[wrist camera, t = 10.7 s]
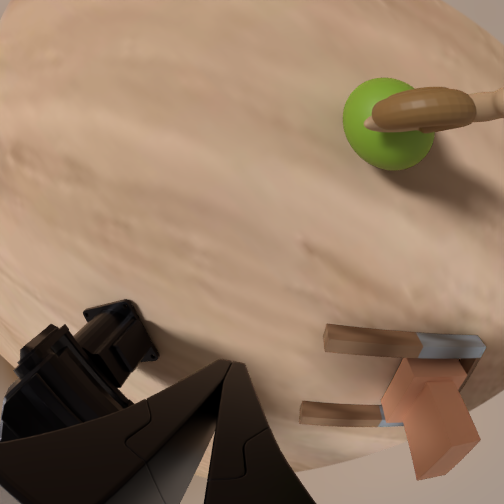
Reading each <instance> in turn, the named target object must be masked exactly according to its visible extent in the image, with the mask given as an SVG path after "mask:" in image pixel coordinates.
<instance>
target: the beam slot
mask: <svg viewBox="0 0 504 504" xmlns="http://www.w3.org/2000/svg"><path fill="white" fill-rule="evenodd" d="M323 339H324V349H325V352H332V353H342V354H353V355H365V356H380V357H399V358H433V359H455V358H461V360H460V364H461V365H462V367H463V369H464V370H465V372H466V374H467V377H466V379H465V380H464V382H463V383H462V385H461V386H460V388H459V390H458V391H459V392H460V391H461V389H462V388H463V386H464V385H465V383H466V382H467V380H468V378H469V377H470V375H471V374H472V372H473V370H474V368H475V367H476V365H477V363H478V362H479V360H480V358H481V356H482V354H483V353H484V351H485V349H486V346H485V345H484V343H483V342H482V341H481V339H480V338H479V337H478V336H477V335H453V334H433V333H417V332H403V331H391V330H379V329H369V328H359V327H350V326H341V325H332V324H327V325H326V328H325V332H324V335H323ZM299 424H308V425H321V426H340V427H392V426H404V424H403V422H401V423H386V420H385V416H384V411H383V407H382V405H348V404H331V403H318V402H307V401H302V404H301V407H300V416H299Z"/></svg>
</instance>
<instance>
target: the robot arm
mask: <svg viewBox="0 0 504 504" xmlns="http://www.w3.org/2000/svg"><path fill="white" fill-rule="evenodd" d="M125 304H126V305H127V306H126V305H125ZM83 315H84V317H85V319H86V320H87V322H88V323H87V324H86V325H85V326H84V327H83V328H82V329H81V330H79V331H78V332H77V333H76V334H75V335H74V336H73V335H72V334H71V333H70V331H69V328H68V327H67V326H66V324H64V325H63V326H62V327H61V328H58V327H56V326H54V325H53V324H50V325H49V326H48V327H47V328H46V329H44V330H43V331H42V332H41V333H40V334H38V335H37V336H36V337H35V338H33V339H32V340H31V341H30V342H29V343H27V344H26V345H25V346H24V347H23V348H22V349H21V350H20V360H19V361H18V362H17V363H18V364H19V365H18V366H17V367H16V368H15V369H14V370H13V371H14V372H15V373H16V375H17V376H18V377H19V378H18V379H17V380H16V381H15V382H14V383H13V384H12V385H11V386H10V387H9V388H8V391H7V392H6V395H5V397H4V401H3V407H2V414H1V422H0V504H180V502H181V500H182V498H183V496H184V494H185V492H186V490H187V488H188V486H189V484H190V482H191V480H192V478H193V476H194V474H195V472H196V470H197V468H198V466H199V463H200V461H201V459H202V457H203V455H204V453H205V451H206V449H207V447H208V444H209V442H210V440H211V438H212V436H213V434H214V432H215V434H214V441H213V447H212V453H211V460H210V466H209V473H208V479H207V486H206V492H205V499H204V504H316V503H315V501H314V500H313V498H312V497H311V496H310V494H309V493H308V491H307V490H306V489H305V487H304V486H303V484H302V483H301V481H300V480H299V478H298V477H297V476H296V474H295V473H294V471H293V470H292V468H291V467H290V465H289V464H288V462H287V460H286V459H285V457H284V455H283V454H282V452H281V450H280V448H279V446H278V444H277V442H276V440H275V438H274V435H273V433H272V431H271V429H270V427H269V424H268V422H267V419H266V417H265V414H264V412H263V409H262V407H261V404H260V402H259V399H258V397H257V394H256V391H255V389H254V386H253V384H252V381H251V378H250V376H249V373H248V370H247V368H246V365H245V364H244V363H240V362H231V361H229V360H224V359H219V360H217V361H215V362H213V363H212V364H210V365H208V366H206V367H205V368H203V369H201V370H199V371H198V372H196V373H194V374H192V375H190V376H189V377H187V378H185V379H183V380H181V381H179V382H178V383H176V384H174V385H172V386H170V387H168V388H166V389H164V390H162V391H161V392H159V393H157V394H155V395H153V396H151V397H149V398H147V400H146V399H144V400H142V401H140V402H138V403H136V404H134V403H133V402H132V401H131V400H130V399H129V400H128V399H127V398H126V397H125V396H124V395H123V394H122V392H121V391H120V390H119V389H118V388H121V386H122V385H123V384H124V382H125V381H126V379H127V378H128V376H129V375H130V374H131V372H133V371H134V370H135V369H136V367H137V366H138V364H139V363H140V362H146V361H156V360H157V359H158V358H159V353H158V352H157V350H156V348H155V346H154V345H153V343H152V341H151V339H150V338H149V336H148V334H147V332H146V330H145V328H144V327H143V325H142V323H141V321H140V319H139V317H138V315H137V313H136V311H135V310H134V308H133V306H132V304H131V302H130V301H129V300H127V299H124V300H120V301H116V302H112V303H108V304H104V305H100V306H96V307H92V308H87V309H86V310H84V311H83Z"/></svg>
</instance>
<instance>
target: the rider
mask: <svg viewBox="0 0 504 504" xmlns="http://www.w3.org/2000/svg"><path fill="white" fill-rule="evenodd" d="M466 377H467V374H466V372H465V370H464V369H463V367H462V365H461V364H460V362H459V360H458V359H457V358H455V359H433V358H403V359H402V362H401V364H400V366H399V368H398V370H397V372H396V374H395V375H394V377H393V379H392V381H391V383H390V385H389V387H388V389H387V391H386V392H385V394H384V396H383V398H382V399H381V403H382V407H383V411H384V416H385V420H386V423H401V422H403V424H404V428H405V431H406V435H407V439H408V443H409V446H410V451H411V456H412V460H413V464H414V469H415V473H416V479H417V480H423V479H427V478H433V477H437V476H442V475H446V474H447V473H448V472H449V471H450V470H451V469H452V468H453V467H454V466H455V465H456V464H458V463H459V462H460V461H461V460H462V459H463V458H464V457H465V456H466V455H467V454H468V453H469V452H470V451H471V450H472V449H473V448H474V447H475V445H477V443H478V442H479V441H480V440H481V439H480V437H479V435H478V432H477V430H476V428H475V425H474V423H473V421H472V419H471V416H470V414H469V412H468V410H467V408H466V406H465V403H464V401H463V399H462V397H461V395H460V393H459V391H458V390H459V388H460V386H461V385H462V383H463V382H464V380H465V379H466Z"/></svg>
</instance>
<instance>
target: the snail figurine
mask: <svg viewBox="0 0 504 504" xmlns="http://www.w3.org/2000/svg"><path fill="white" fill-rule="evenodd" d="M499 118H504V87H503V88H500V89H498V90H497V91H495V92H481V93H474V94H469V95H468V94H466V93H464V92H462V91H460V90H455V89H448V88H445V87H425V88H417V89H414V88H413V87H412V86H410V85H408V84H407V83H405V82H402V81H400V80H397V79H392V78H376V79H372V80H369V81H366V82H364V83H362V84H361V85H359V86H358V87H357V88H356V89H355V90H354V91H353V92H352V93H351V94H350V96H349V98H348V99H347V102H346V104H345V107H344V112H343V126H344V131H345V134H346V137H347V139H348V142H349V143H350V145H351V147H352V148H353V149H354V151H355V152H356V153H357V154H358V155H359V156H360V157H361V158H362V159H363V160H365V161H366V162H368V163H369V164H371V165H373V166H375V167H378V168H381V169H385V170H403V169H407V168H410V167H412V166H414V165H416V164H417V163H419V162H420V161H421V160H422V159H423V158H424V157H425V156H426V155H427V153H428V152H429V150H430V148H431V146H432V144H433V140H434V135H435V132H438V131H444V130H449V129H454V128H459V127H464V126H467V125H469V124H471V123H472V122H484V121H490V120H495V119H499Z"/></svg>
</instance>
